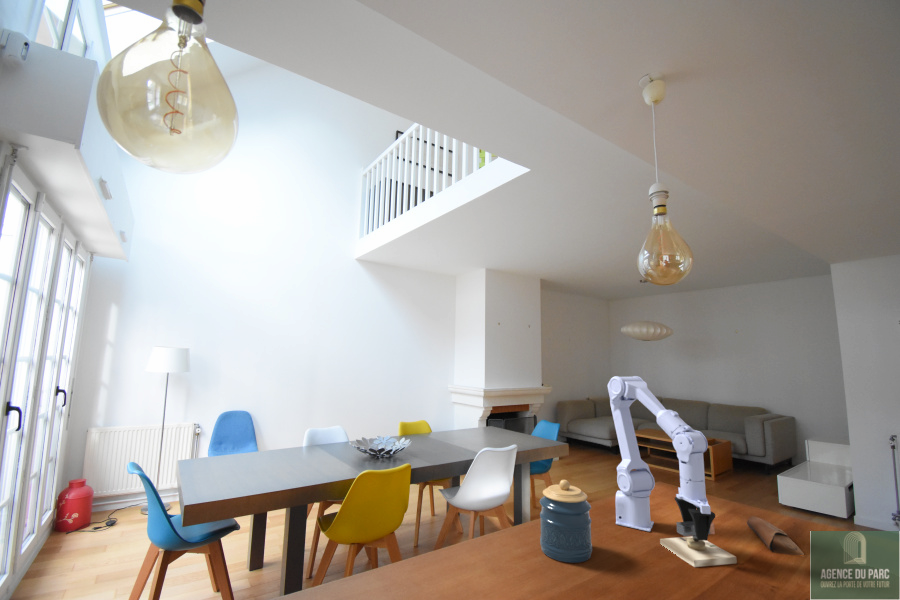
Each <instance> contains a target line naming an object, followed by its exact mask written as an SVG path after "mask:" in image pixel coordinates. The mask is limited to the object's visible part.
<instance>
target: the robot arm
mask: <svg viewBox="0 0 900 600" xmlns="http://www.w3.org/2000/svg"><path fill="white" fill-rule="evenodd" d="M648 387H649V386H648V383H647V382H646V381H644V380H643V378H642V377H640V376H637V375H633V376H618V375H616V376H613V377H611V378H610V379H609V381H608V383H607V391H608V395H609V405H610V408H611V414H612V419H613V422H614V429H615V432H616V437H617V441H618V446H619V452H620V456H621V461H620V463H618V465H617V466H616V472H617V475H616V482H617V485H618V488H619V490H617V491H616V492H615V503H614V504H615V525H618V526H622V527H626V528H627V527H628V528H632V529H636V530H640V531H646V532H651V530H652V528H653V526H654V521H653V520H651V503H650V500H651V499H650V495H652V491H653V490H654V488H655V484H656V482H655V477H654V476H653V475H654V474H652V472H651V470H650V466H649V465H648V463H647V462H645V461H644V460H643V459H642V458H641V454H640V450H639V445H638V440H637V436H636V432H635V426H634V424H633V418H632V414H631V410H630V407H631V405H632V404H633V403H634V402H636V401H637V400H638V401H639V402H640V403H641V404H642V405H643V406H644V407H645V408H647V409H648V411H649V412H650V413H652V414H653V415H654V416H655V417H656V423H657V425H658V426H659V427H660V429H662V430H663V431H664V432H665V434H666V435H668V437H669V438H670V439H671V440H672V441H671V442H672V446H673V448H674V450H675V451H676V457H677V459H678V465H679V466H678V467H679V483H680V484H679V485H680V487H679V486H678V487H677V489H678V493H675V497H674V500H675V502H676V504H677V506H678V508H679V511H680V514H681V518H682V522H689V521H693V522H694V527H695V532H696V536H697V539H698V540H705V541H708V539H709V535H710V534H709V529H710V526H711V523H713V521H714V520H715V518H716V513H715V512H713V511H711V505H709V501H708V498H707V496H706V479H705V478H706V476H705V475H706V474H705V461H704V453H705V452H707V450H708V446H709V444H708V443H709V442H708V440H707V438H706V436H705V435H704V434H703V432H702V431H699V430H696V429H693V428H692V427H691V426H690V425H688V424H687V422H685V421H684V420H683V419H682V418H681V417H680V416H679V415H680V414H679V413H678V412H677V411H674V410H673V409H666V407H665V406H664V405H663V404H662V402H661V401H659V399H658V398H657V397H656V396H655V395H654V394H653V392H652V391H651V390H650V389H649V388H648Z"/></svg>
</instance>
